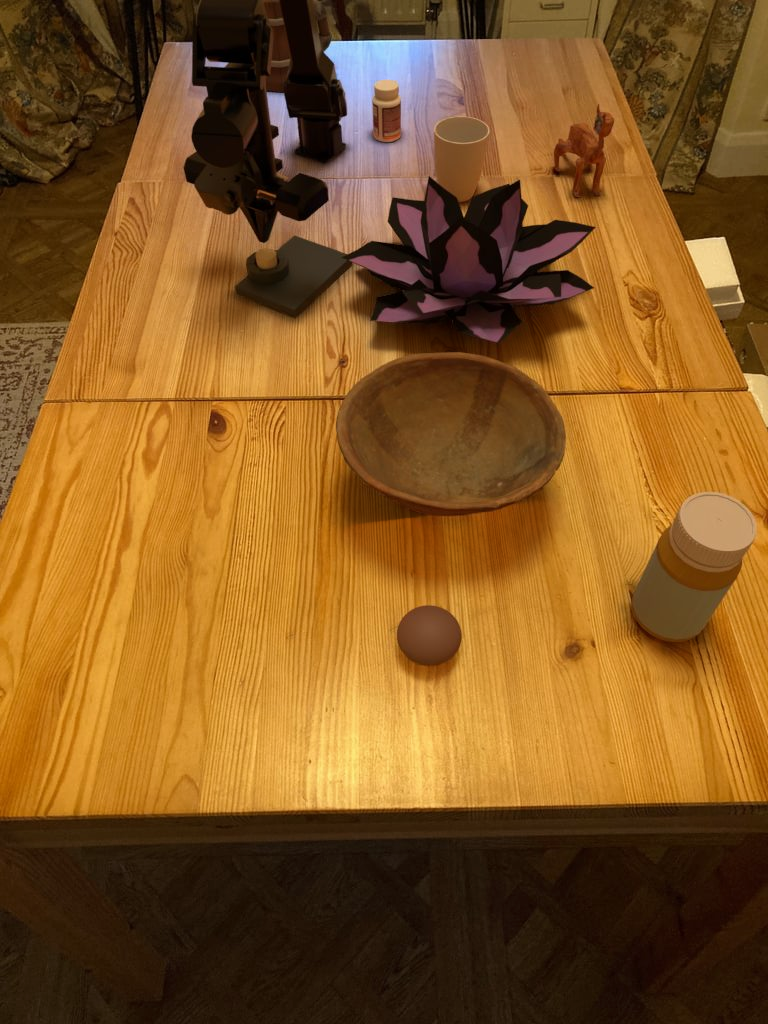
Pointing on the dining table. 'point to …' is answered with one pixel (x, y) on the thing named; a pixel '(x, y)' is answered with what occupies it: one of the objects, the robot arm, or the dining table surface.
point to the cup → (460, 154)
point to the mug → (281, 44)
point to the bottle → (693, 566)
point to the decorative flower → (470, 261)
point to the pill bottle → (386, 111)
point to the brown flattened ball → (429, 635)
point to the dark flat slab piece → (293, 276)
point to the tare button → (266, 258)
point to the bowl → (451, 433)
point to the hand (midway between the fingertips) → (264, 241)
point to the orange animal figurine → (586, 148)
